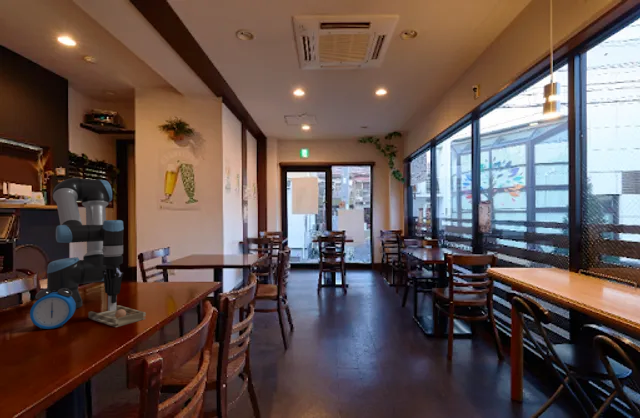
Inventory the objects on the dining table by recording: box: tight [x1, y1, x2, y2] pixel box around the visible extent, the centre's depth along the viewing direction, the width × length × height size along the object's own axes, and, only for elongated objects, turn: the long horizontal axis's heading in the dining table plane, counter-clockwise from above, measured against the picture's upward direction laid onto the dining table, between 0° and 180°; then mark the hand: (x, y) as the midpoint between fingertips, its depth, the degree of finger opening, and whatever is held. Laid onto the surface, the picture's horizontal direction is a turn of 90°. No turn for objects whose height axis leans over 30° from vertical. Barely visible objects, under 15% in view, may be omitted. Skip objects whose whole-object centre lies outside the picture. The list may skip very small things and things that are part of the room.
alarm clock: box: [29, 288, 77, 331], centre depth 127 cm, size 13×6×15 cm, turn 115°
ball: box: [115, 309, 126, 318], centre depth 135 cm, size 4×4×4 cm
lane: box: [88, 304, 147, 328], centre depth 137 cm, size 22×12×3 cm, turn 59°
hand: (112, 310), depth 139 cm, fingers closed
